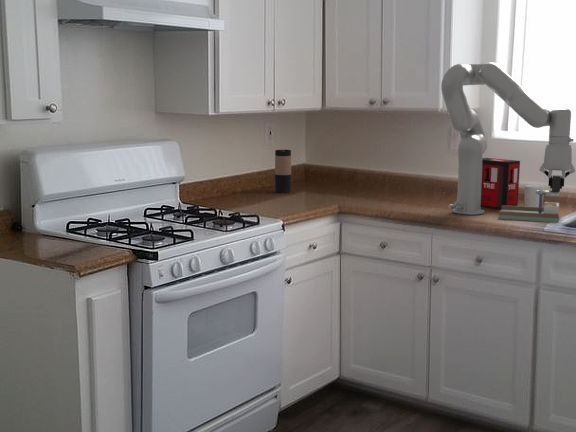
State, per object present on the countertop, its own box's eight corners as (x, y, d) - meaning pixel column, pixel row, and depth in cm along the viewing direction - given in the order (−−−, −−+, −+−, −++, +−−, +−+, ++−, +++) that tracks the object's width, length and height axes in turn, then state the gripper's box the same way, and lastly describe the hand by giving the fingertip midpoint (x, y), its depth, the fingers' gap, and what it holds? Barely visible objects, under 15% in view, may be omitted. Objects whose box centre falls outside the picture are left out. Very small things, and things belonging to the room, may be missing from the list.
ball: (552, 206, 308) (543, 213, 309) (557, 211, 310) (549, 218, 311) (547, 200, 311) (539, 207, 312) (553, 205, 313) (544, 212, 314)
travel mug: (272, 191, 381) (273, 149, 377) (288, 190, 383) (288, 149, 380) (277, 193, 374) (277, 151, 370) (293, 193, 376) (293, 150, 373)
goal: (558, 212, 315) (559, 202, 314) (558, 217, 305) (559, 207, 304) (543, 212, 317) (544, 202, 316) (543, 216, 307) (543, 206, 306)
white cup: (527, 207, 337) (529, 184, 336) (546, 209, 333) (547, 185, 331) (520, 209, 331) (521, 186, 330) (538, 211, 327) (540, 187, 325)
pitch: (558, 215, 318) (558, 208, 317) (558, 222, 303) (558, 214, 302) (501, 212, 325) (501, 205, 324) (498, 218, 310) (499, 211, 309)
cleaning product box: (472, 205, 343) (474, 159, 339) (483, 203, 349) (486, 157, 345) (505, 210, 331) (508, 162, 327) (517, 207, 337) (520, 160, 333)
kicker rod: (558, 212, 313) (560, 175, 310) (558, 215, 307) (560, 176, 305) (534, 211, 316) (537, 174, 313) (534, 213, 310) (536, 175, 307)
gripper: (581, 140, 306) (578, 188, 310) (536, 139, 312) (534, 186, 315) (581, 142, 299) (578, 190, 303) (536, 140, 305) (533, 188, 308)
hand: (556, 187), depth 309 cm, fingers closed on kicker rod, 3 cm apart
